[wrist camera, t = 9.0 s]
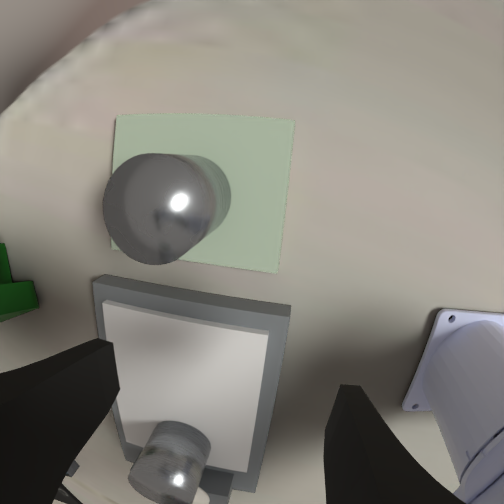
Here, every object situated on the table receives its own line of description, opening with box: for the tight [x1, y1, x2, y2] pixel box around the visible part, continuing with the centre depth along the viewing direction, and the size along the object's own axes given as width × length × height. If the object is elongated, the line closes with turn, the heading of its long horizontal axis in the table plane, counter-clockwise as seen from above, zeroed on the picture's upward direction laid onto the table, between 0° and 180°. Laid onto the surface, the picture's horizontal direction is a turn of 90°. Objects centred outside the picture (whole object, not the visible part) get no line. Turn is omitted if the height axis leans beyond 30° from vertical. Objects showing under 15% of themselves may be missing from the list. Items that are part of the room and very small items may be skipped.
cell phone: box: [54, 483, 82, 504], centre depth 34 cm, size 9×18×1 cm, turn 110°
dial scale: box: [93, 274, 291, 504], centre depth 19 cm, size 12×19×4 cm, turn 175°
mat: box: [111, 113, 295, 274], centre depth 17 cm, size 10×8×1 cm
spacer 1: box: [103, 153, 231, 265], centre depth 14 cm, size 4×4×5 cm
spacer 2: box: [128, 421, 211, 504], centre depth 18 cm, size 4×4×5 cm
